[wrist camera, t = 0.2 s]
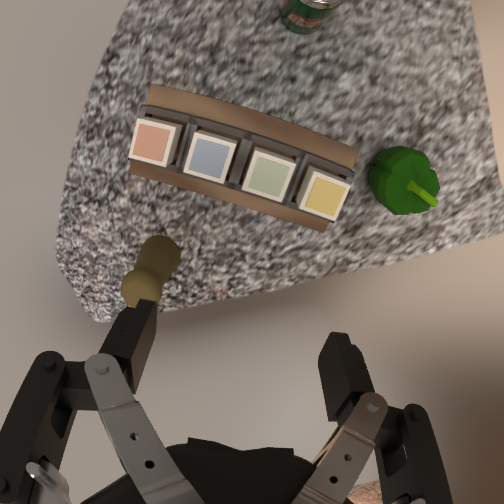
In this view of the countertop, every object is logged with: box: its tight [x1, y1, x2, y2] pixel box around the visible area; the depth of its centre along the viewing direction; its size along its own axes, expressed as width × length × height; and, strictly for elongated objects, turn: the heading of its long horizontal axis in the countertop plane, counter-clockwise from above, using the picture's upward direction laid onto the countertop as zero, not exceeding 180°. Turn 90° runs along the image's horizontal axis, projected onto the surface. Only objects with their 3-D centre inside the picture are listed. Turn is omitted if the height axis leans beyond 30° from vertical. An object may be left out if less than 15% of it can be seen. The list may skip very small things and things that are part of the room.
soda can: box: [281, 0, 343, 34], centre depth 23 cm, size 5×5×12 cm
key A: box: [242, 147, 296, 202], centre depth 32 cm, size 4×4×3 cm
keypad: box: [128, 84, 359, 233], centre depth 35 cm, size 12×27×4 cm, turn 72°
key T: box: [183, 130, 238, 184], centre depth 31 cm, size 4×4×3 cm
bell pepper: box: [368, 146, 440, 215], centre depth 33 cm, size 8×8×10 cm
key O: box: [129, 117, 183, 167], centre depth 30 cm, size 4×4×3 cm
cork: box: [121, 235, 181, 308], centre depth 38 cm, size 6×6×11 cm
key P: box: [296, 166, 351, 221], centre depth 33 cm, size 4×4×3 cm
